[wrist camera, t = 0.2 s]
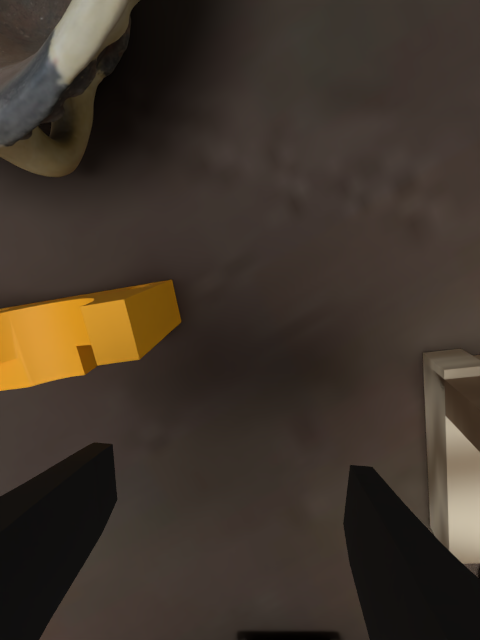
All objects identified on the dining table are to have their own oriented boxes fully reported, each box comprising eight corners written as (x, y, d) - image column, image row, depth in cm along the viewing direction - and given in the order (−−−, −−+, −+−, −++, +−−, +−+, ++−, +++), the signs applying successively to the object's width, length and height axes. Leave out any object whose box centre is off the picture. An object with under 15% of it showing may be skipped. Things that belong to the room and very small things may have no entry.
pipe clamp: (17, 371, 22) (-84, 424, 16) (-5, 309, 21) (-122, 339, 15) (188, 348, 20) (149, 397, 14) (173, 279, 19) (124, 299, 13)
